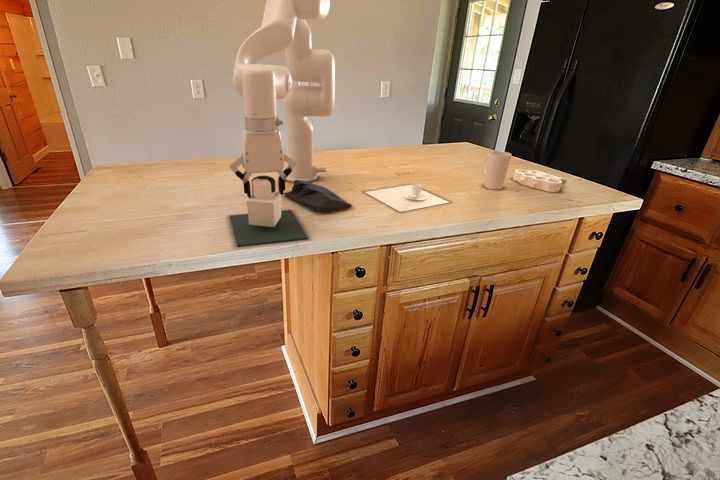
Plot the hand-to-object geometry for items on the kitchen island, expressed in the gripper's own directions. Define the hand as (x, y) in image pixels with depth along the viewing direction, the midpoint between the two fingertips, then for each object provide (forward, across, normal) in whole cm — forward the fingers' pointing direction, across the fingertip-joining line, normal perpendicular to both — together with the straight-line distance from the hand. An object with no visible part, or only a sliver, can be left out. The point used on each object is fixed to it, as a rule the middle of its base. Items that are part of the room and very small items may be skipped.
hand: (265, 194), depth 103 cm
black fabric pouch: (+10, -19, -16) cm, 26 cm away
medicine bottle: (+8, 0, 0) cm, 8 cm away
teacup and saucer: (+10, -49, -13) cm, 52 cm away
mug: (+10, -85, -17) cm, 87 cm away
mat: (+9, 0, 0) cm, 9 cm away
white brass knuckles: (+10, -104, -14) cm, 105 cm away
